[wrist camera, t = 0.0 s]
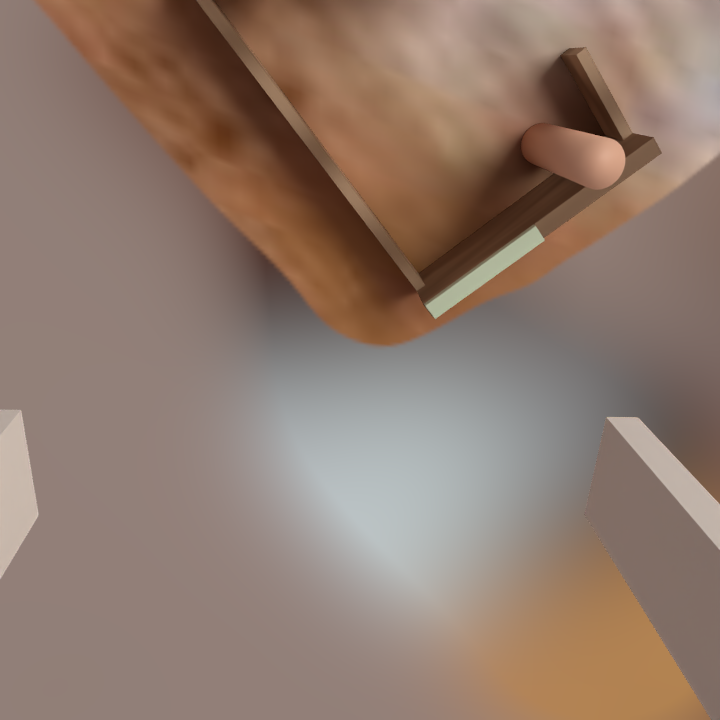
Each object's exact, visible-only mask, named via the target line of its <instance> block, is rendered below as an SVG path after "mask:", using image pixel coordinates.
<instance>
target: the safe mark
mask: <svg viewBox="0 0 720 720" xmlns="http://www.w3.org/2000/svg"><path fill="white" fill-rule="evenodd" d="M543 241H545V240H544V238H543V237H542V235H541V233H540V232H539V230H538V229H537V227H536V226H535V225H534V224H533V225H532V226H531V227H529V228H528V229H526V230H525V231H524V232H522V233H521V234H520V235H518V236H517V237H515V238H514V239H513V240H511V241H510V242H509V243H507V244H506V245H504V246H503V247H502V248H500V249H499V250H497V251H496V252H495V253H493V254H492V255H491V256H489V257H488V258H486V259H485V260H484V261H482V262H481V263H480V264H478V265H477V266H475V267H474V268H473V269H471V270H470V271H469V272H467V273H466V274H464V275H463V276H462V277H460V278H459V279H458V280H456V281H455V282H453V283H452V284H451V285H449V286H448V287H446V288H445V289H444V290H442V291H441V292H440V293H438V294H437V295H435V296H434V297H433V298H431V299H430V300H429V301H427V302H426V303H424V304H425V306H426V307H427V309H428V310H429V311H430V313H431V314H432V315H433V317H434V318H435V319H436V318H437V317H439V316H440V315H441V314H443V313H444V312H446V311H447V310H448V309H450V308H451V307H453V306H454V305H455V304H457V303H458V302H459V301H461V300H462V299H464V298H465V297H466V296H468V295H469V294H471V293H472V292H473V291H475V290H476V289H478V288H479V287H480V286H482V285H483V284H485V283H486V282H487V281H489V280H490V279H492V278H493V277H494V276H496V275H497V274H499V273H500V272H501V271H503V270H504V269H505V268H507V267H508V266H510V265H511V264H512V263H514V262H515V261H517V260H518V259H519V258H521V257H522V256H524V255H525V254H526V253H528V252H529V251H531V250H532V249H533V248H535V247H536V246H538V245H539V244H540V243H542V242H543Z"/></svg>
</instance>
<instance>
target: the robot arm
mask: <svg viewBox="0 0 720 720" xmlns="http://www.w3.org/2000/svg"><path fill="white" fill-rule="evenodd" d="M38 515H39V514H38V508H37V502H36V496H35V490H34V484H33V478H32V472H31V466H30V461H29V454H28V448H27V442H26V436H25V430H24V424H23V418H22V412H21V410H0V579H1V577H2V576H3V574H4V572H5V571H6V569H7V567H8V566H9V564H10V562H11V561H12V559H13V557H14V555H15V554H16V552H17V550H18V549H19V547H20V545H21V544H22V542H23V540H24V539H25V537H26V535H27V534H28V532H29V530H30V529H31V527H32V525H33V524H34V522H35V520H36V519H37V517H38ZM585 516H586V518H587V520H588V521H589V522H590V524H591V526H592V527H593V529H594V531H595V533H596V534H597V536H598V537H599V539H600V541H601V542H602V543H603V545H604V547H605V548H606V550H607V552H608V553H609V555H610V557H611V558H612V560H613V562H614V563H615V565H616V566H617V568H618V570H619V571H620V573H621V574H622V576H623V578H624V579H625V581H626V583H627V584H628V586H629V587H630V589H631V591H632V592H633V594H634V596H635V597H636V599H637V600H638V602H639V604H640V605H641V607H642V608H643V610H644V612H645V613H646V615H647V616H648V618H649V620H650V621H651V623H652V624H653V626H654V628H655V629H656V631H657V633H658V634H659V636H660V637H661V639H662V641H663V642H664V644H665V645H666V647H667V649H668V651H669V652H670V654H671V655H672V657H673V658H674V660H675V662H676V663H677V665H678V667H679V668H680V670H681V671H682V673H683V675H684V676H685V678H686V680H687V681H688V683H689V684H690V686H691V688H692V689H693V691H694V692H695V694H696V695H697V697H698V699H699V700H700V702H701V704H702V705H703V707H704V709H705V710H706V712H707V714H708V715H709V717H710V718H711V720H720V504H719V503H718V502H717V501H716V500H715V499H714V498H713V497H712V496H711V495H710V494H709V493H708V491H707V490H706V489H705V488H704V487H703V486H702V485H701V484H700V483H699V482H698V481H697V480H696V479H695V478H694V477H693V476H692V475H691V473H690V472H689V471H688V470H687V469H686V468H685V467H684V466H683V465H682V464H681V463H680V462H679V461H678V460H677V459H676V458H675V457H674V455H673V454H672V453H671V452H670V451H669V450H668V449H667V448H666V447H665V446H664V445H663V444H662V443H661V442H660V441H659V439H658V438H657V437H656V436H655V435H654V434H653V433H652V432H651V431H650V430H649V429H648V428H647V427H646V426H645V425H644V424H643V423H642V421H641V420H640V419H639V418H637V417H635V418H634V417H606V421H605V426H604V430H603V435H602V439H601V443H600V448H599V452H598V457H597V461H596V466H595V470H594V474H593V479H592V483H591V488H590V493H589V497H588V501H587V506H586V510H585Z"/></svg>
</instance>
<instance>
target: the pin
mask: <svg viewBox="0 0 720 720" xmlns="http://www.w3.org/2000/svg"><path fill="white" fill-rule="evenodd" d="M521 151H522V154H523V156H524V158H525V159H526V160H527V161H528V162H530V163H532V164H534V165H536V166H539V167H541V168H543V169H546V170H548V171H550V172H553V173H555V174H557V175H560V176H562V177H564V178H567V179H569V180H571V181H574V182H576V183H578V184H580V185H583V186H585V187H587V188H590V189H595V190H599V189H604V188H607V187H609V186H611V185H612V184H613V183H615V182H616V181H617V180H618V179H619V177H620V176H621V174H622V172H623V170H624V167H625V153H624V150H623V148H622V146H621V145H620V144H619V143H618V142H617V141H615V140H613V139H611V138H607V137H602V136H598V135H594V134H590V133H585V132H581V131H577V130H573V129H568V128H564V127H560V126H556V125H551V124H547V123H539V124H536V125H533V126H532V127H530V128H529V129H528V130H527V131H526V132H525V134H524V136H523V138H522V141H521Z"/></svg>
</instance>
